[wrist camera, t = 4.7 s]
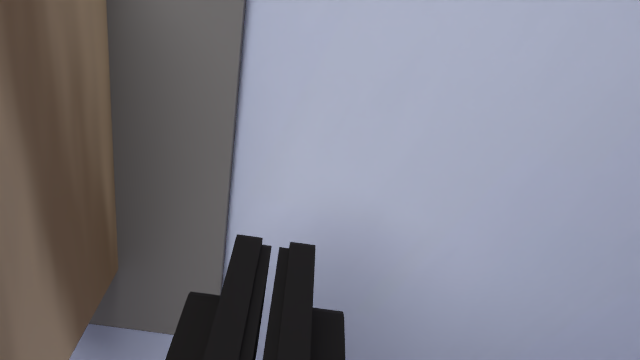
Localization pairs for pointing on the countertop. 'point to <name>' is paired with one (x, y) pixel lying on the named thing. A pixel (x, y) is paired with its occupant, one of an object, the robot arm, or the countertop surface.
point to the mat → (170, 153)
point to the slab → (54, 175)
